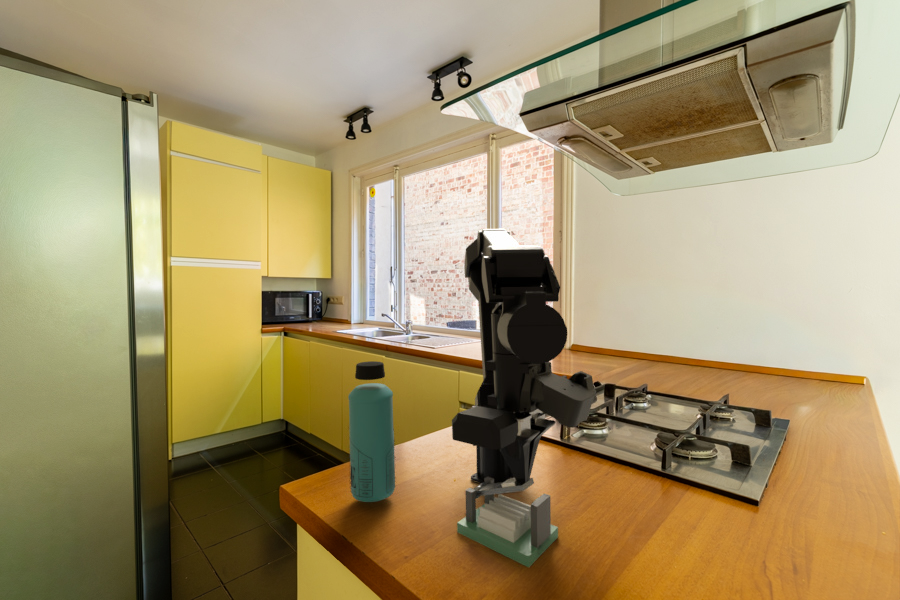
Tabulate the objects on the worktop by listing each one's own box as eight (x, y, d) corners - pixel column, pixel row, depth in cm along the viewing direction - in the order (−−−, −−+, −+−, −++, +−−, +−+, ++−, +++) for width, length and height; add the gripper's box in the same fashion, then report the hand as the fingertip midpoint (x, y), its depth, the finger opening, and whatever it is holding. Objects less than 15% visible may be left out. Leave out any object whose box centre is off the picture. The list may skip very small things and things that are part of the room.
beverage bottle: (405, 501, 57) (403, 361, 57) (365, 520, 52) (362, 368, 52) (379, 485, 62) (377, 356, 61) (340, 502, 57) (337, 362, 57)
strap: (472, 499, 51) (469, 488, 51) (483, 492, 52) (480, 481, 53) (524, 493, 46) (520, 481, 46) (535, 485, 47) (531, 474, 48)
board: (457, 532, 49) (456, 485, 49) (489, 508, 55) (489, 466, 55) (528, 567, 43) (528, 514, 43) (558, 537, 48) (557, 489, 48)
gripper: (540, 368, 35) (548, 547, 35) (613, 345, 49) (619, 472, 49) (445, 360, 42) (452, 508, 42) (532, 343, 56) (537, 453, 56)
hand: (522, 483), depth 47 cm, fingers closed, pressing on strap
